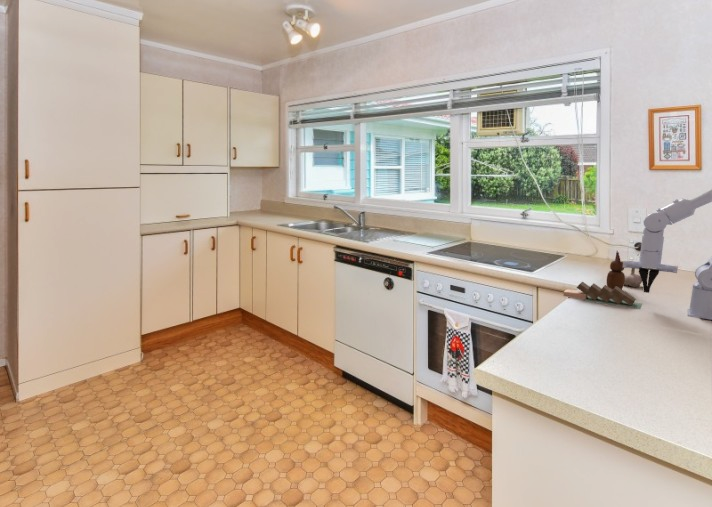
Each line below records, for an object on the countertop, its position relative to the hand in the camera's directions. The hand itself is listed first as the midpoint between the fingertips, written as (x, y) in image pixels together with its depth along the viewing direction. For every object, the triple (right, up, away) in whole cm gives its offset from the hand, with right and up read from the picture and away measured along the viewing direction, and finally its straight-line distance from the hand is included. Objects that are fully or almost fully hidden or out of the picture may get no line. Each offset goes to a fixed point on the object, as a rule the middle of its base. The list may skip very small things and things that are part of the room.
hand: (646, 291), depth 140 cm
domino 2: (-8, -3, +7) cm, 11 cm away
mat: (-7, -4, +6) cm, 11 cm away
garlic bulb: (+15, -1, +31) cm, 34 cm away
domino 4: (-2, -4, +3) cm, 5 cm away
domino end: (-14, -2, +11) cm, 18 cm away
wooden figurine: (+3, -2, +23) cm, 23 cm away
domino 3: (-5, -4, +5) cm, 8 cm away
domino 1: (-11, -3, +9) cm, 14 cm away
